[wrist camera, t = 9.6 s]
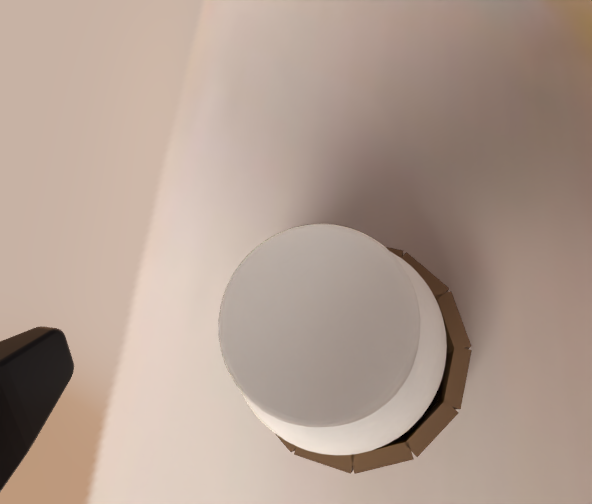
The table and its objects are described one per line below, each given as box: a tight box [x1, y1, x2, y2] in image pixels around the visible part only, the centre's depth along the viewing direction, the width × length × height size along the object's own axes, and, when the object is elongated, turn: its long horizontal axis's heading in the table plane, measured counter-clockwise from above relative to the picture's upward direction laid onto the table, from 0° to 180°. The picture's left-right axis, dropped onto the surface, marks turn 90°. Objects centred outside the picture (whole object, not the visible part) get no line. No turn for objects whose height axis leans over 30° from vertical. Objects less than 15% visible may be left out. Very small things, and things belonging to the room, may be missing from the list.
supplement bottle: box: [219, 224, 447, 455], centre depth 14 cm, size 5×5×10 cm
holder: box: [276, 247, 471, 473], centre depth 17 cm, size 7×7×3 cm
